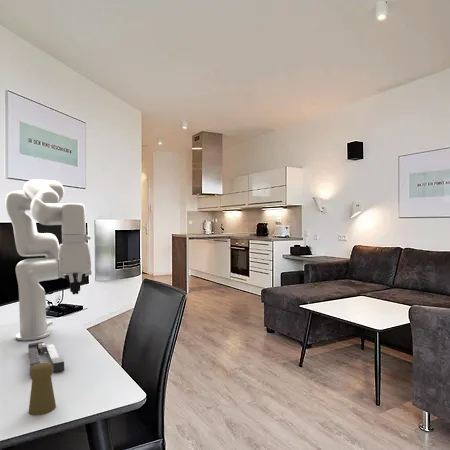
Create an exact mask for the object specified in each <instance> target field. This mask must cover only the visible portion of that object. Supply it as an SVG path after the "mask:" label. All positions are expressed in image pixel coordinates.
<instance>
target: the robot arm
mask: <svg viewBox="0 0 450 450" xmlns="http://www.w3.org/2000/svg"><path fill="white" fill-rule="evenodd" d="M64 196H65V189H64V185H63V184H62V183H61V182H60V181H58V180H54V179H53V180H52V179H37V178H36V179H34V178H33V179H30V180H28V181H26V182H25V183H24V184H23V189H22V190H14V191H10V192H8V193H7V195H6V196H5V202H4V203H5V209H6V213H7V216H8V218H9V220H10V222H11V224H12V227H13V235H14V242H15V249H16V251H17V253H18V255H19V256H21V257H35V258H26V259H23V260H20V261H19V262H18V263H17V264H16V266H15V275H16V280H17V285H18V287H17V288H18V302H19V303H18V304H19V307H18V308H19V310H18V311H19V332H18V333H16V335H15V340H17V341H27V342H28V341H36V340H40V339H44V338H46V337H48V336H50V335H51V330H50V329H48V328H49V327H50V326H53V321H52V320H49V321H47V309H46V308H47V306H46V305H47V304H46V303H47V302H46V301H47V300H46V291H45V289H44V287H43V286H42V285H41V284H40V282H44V281H52V280H58V279H61V278H62V279H66V280H67V281H68V282H69V291H70V293H71V294H72V295H78V294H79V293H80V291H81V282H82V280H83V279H84V278H85V277H88V276H91V275H92V274H93V273H92V259H91V251H90V246H89V243H88V242H87V241H89V240H91V235H88V234H87V227H86V225H87V224H86V221H87V220H86V216H87V215H86V207H85V204H83V203H79V202H77V203H76V202H70V203H69V202H67V203H60V202H62V200H63V198H64ZM27 212H30V213H31V215H29V214H28V213H27ZM36 222H37V223H39V224H40V225H43V226H61V243H60V244H59V240H58V238H57V236H56V235H55V234H53V233H50V232H44V233H43V232H42V233H41V232H38V229H37V223H36ZM39 256H40V257H39ZM42 256H44V257H42ZM37 257H38V258H37ZM74 274H76V279H75V278H74V276H73V275H74ZM74 279H75V280H74Z"/></svg>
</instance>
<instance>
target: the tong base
mask: <svg viewBox="0 0 450 450" xmlns="http://www.w3.org/2000/svg"><path fill="white" fill-rule="evenodd" d="M40 343H44V344H45V342H44V341H39V342H33V343H28V345H27V346H28V350H27V351H28V355H29V357H28V359H29V362H30V363H29V370H30V369H31V368H32V366H34V365H36V364H38V363H42V362H41V359H40V354H38V344H40Z"/></svg>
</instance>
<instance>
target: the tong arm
mask: <svg viewBox="0 0 450 450" xmlns="http://www.w3.org/2000/svg"><path fill="white" fill-rule="evenodd" d="M45 353H46V356H47V359H48V363H50V364H51V365H52V366H53V373H57V372H62V371H65V361H64V359H63V357H62V356H60V355H59V353H58V351H57V349H56V347H55V345H54V343H51V344H45V342H44V343H40V344H38V354H39V355H43V354H45Z"/></svg>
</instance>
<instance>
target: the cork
mask: <svg viewBox="0 0 450 450" xmlns="http://www.w3.org/2000/svg"><path fill="white" fill-rule="evenodd" d="M53 374H54V372H53V366H52V365H51V364H50V362H47V361H46V362H45V361H43V362H41V363H38V364H36V365H34V366H32V368H31V369H30V368H29V378H30V379H31V380H32V381H31V388H30V389H31V390H30V395H29V397H30V398H29V403H28V414H30V415H31V416H42V415H45V414H49V413H51V412H52V411H54V410H55V408H56V407H57V405H56V398H55V393H54V387H53V382H52V381H53V380H52V376H53Z"/></svg>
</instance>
